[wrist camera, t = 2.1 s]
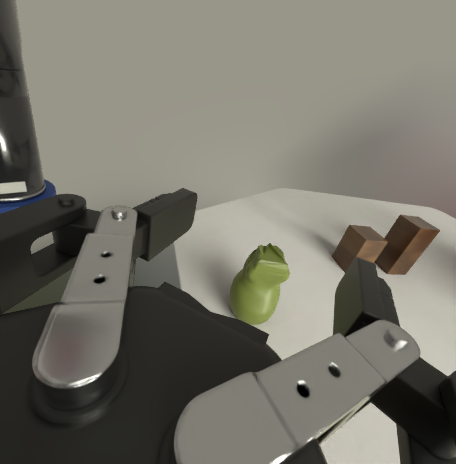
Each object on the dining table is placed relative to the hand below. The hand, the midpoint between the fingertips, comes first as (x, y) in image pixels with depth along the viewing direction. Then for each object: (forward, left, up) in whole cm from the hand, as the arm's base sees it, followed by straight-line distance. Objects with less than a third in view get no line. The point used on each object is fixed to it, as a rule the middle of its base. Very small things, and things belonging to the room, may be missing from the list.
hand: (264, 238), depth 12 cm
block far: (+10, +42, -17) cm, 46 cm away
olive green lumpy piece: (-3, +11, -18) cm, 21 cm away
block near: (+4, +35, -17) cm, 39 cm away
